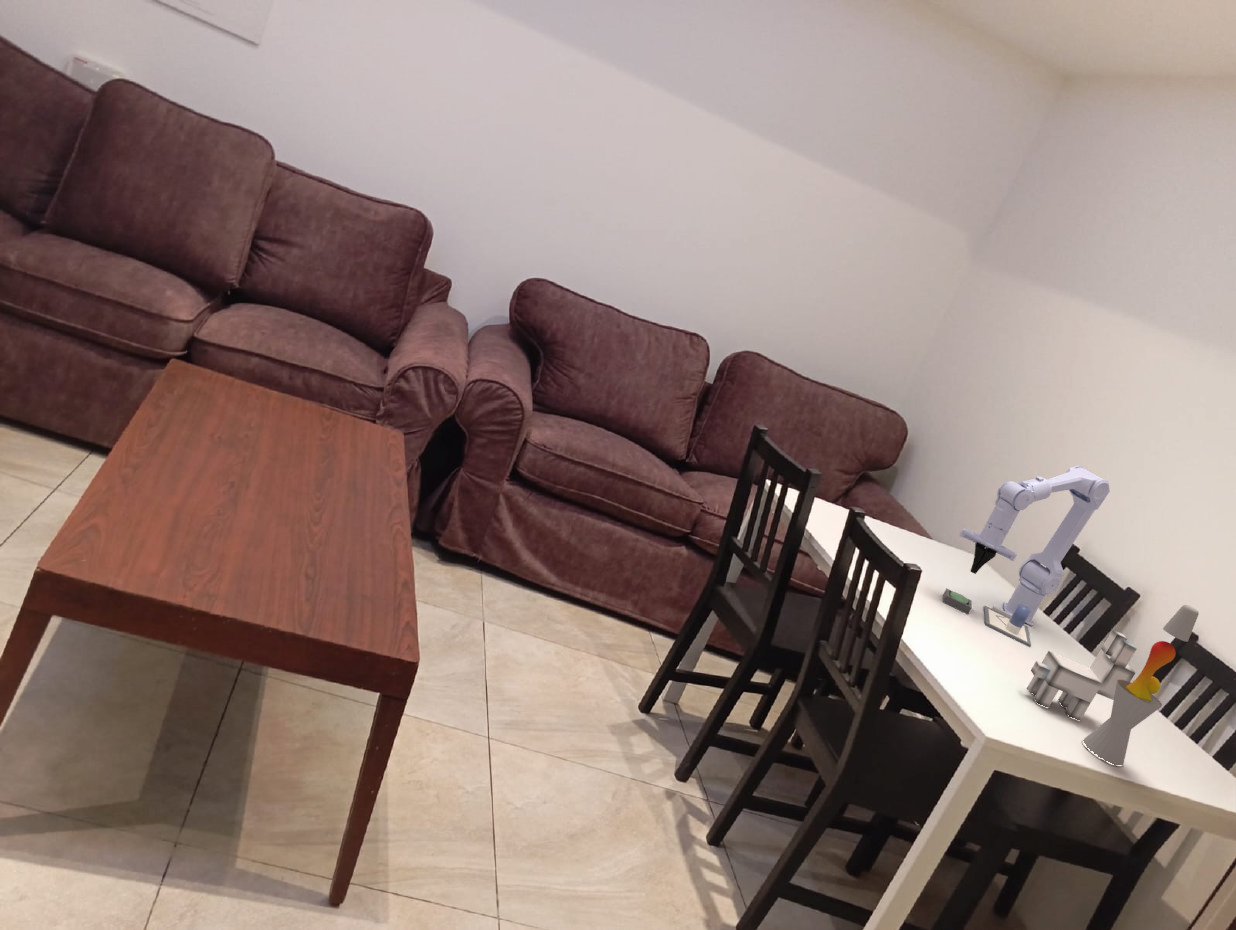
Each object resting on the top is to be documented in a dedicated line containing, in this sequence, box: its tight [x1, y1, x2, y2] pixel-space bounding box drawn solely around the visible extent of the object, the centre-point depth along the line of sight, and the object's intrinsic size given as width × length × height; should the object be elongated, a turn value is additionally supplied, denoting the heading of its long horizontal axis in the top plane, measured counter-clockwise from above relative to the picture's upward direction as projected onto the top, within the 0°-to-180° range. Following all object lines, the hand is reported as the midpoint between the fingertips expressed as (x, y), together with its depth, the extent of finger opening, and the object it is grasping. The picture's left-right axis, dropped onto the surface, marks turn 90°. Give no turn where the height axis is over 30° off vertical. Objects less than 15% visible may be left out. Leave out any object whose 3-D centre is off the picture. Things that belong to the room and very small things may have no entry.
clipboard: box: [983, 605, 1032, 648], centre depth 268 cm, size 16×12×2 cm
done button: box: [949, 591, 969, 605], centre depth 269 cm, size 5×5×2 cm
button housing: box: [942, 587, 973, 615], centre depth 269 cm, size 7×7×2 cm
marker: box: [1005, 604, 1031, 634], centre depth 263 cm, size 3×3×7 cm
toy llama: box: [1026, 629, 1138, 721], centre depth 223 cm, size 8×18×20 cm, turn 85°
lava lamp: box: [1082, 604, 1199, 766], centre depth 205 cm, size 9×9×35 cm
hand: (973, 572), depth 266 cm, fingers closed
